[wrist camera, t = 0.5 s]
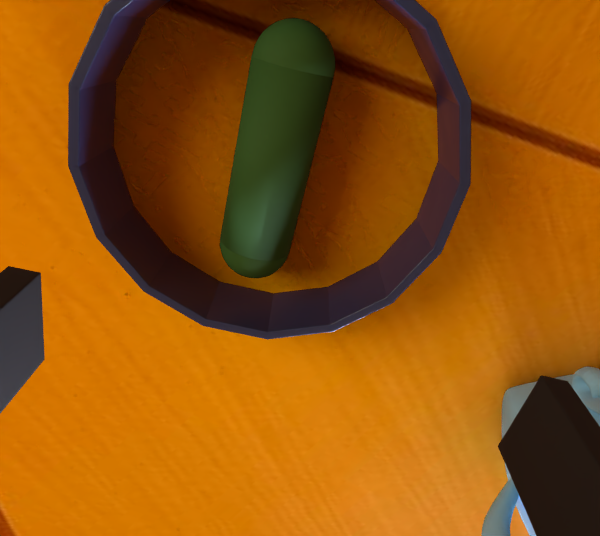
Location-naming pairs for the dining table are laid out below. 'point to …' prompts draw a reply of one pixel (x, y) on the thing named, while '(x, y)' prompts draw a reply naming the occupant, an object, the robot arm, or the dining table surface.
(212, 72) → the dining table surface
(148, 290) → the ring
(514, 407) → the teapot
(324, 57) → the cucumber
